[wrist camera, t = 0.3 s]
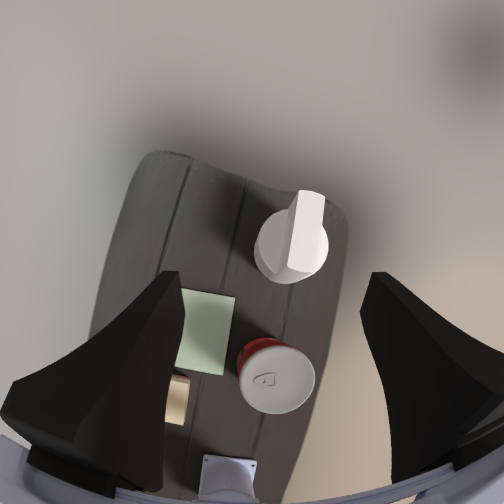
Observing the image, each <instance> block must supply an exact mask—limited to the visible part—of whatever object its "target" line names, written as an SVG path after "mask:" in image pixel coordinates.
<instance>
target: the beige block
mask: <svg viewBox="0 0 504 504" xmlns="http://www.w3.org/2000/svg"><path fill="white" fill-rule="evenodd" d="M189 386H190V380H187V379H182V378H177V377H172V378H171V382H170V386H169V391H168V397H167V405H166V414H165V422H170V423H174V424H179V425H183V424H184V421H185V417H186V408H187V401H188V393H189Z"/></svg>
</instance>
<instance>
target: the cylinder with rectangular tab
mask: <svg viewBox="0 0 504 504" xmlns="http://www.w3.org/2000/svg"><path fill="white" fill-rule="evenodd" d="M324 203H325V197H324V196H323V195H321V194H318V193H316V192H313V191H306V190H299V191H298V193H297V195H296V197H295V198H294V200H293V202H292V203H291V205H290V207H289V208H288V209H286V210H281V211H279V212H277V213H274V214H273V215H272V216H270V217H269V218H268V219H267V220H266V221H265V223H264V224H263V226H262V228H261V230H260V232H259V235H258V237H257V240H256V243H255V246H254V258H255V263H256V265H257V267H258V269H259V270H260V271H261V273H262V274H263V275H264V276H265V277H267V278H268V279H270V280H271V281H274V282H277V283H281V284H290V283H294V282H297V281H300V280H302V279H304V278H306V277H308V276H310V275H312V274H314V273H315V272H317V271H318V270H319V269H320V268H321V267H322V265H323V263H324V261H325V260H326V257H327V253H328V239H327V235H326V232H325V230H324V228H323V226H322V220H323V211H324Z"/></svg>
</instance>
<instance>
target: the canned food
mask: <svg viewBox="0 0 504 504" xmlns="http://www.w3.org/2000/svg"><path fill="white" fill-rule="evenodd" d="M236 367H237V374H238V381H239V387H240V390H241V393H242V395H243V397H244V398H245V400H246V401H247V402H248V403H249V404H250V405H251V406H252V407H254V408H255V409H257V410H259V411H261V412H264V413H269V414H281V413H286V412H289V411H292V410H294V409H296V408H297V407H299V406H300V405H302V404H303V403H304V402H305V401H306V400H307V399H308V397H309V396H310V394H311V392H312V390H313V387H314V384H315V372H314V369H313V366H312V364H311V362H310V361H309V359H308V358H307V357H306V356H305V355H304V354H303V353H301V352H300V351H298V350H297V349H295V348H293V347H291V346H289V345H287V344H285V343H283V342H281V341H279V340H277V339H274V338H259V339H255V340H253V341H251V342H249V343H248V344H247V345H245V346H244V347H243V348H242V350H241V351H240V353H239V355H238V357H237V362H236Z"/></svg>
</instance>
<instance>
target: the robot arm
mask: <svg viewBox="0 0 504 504" xmlns="http://www.w3.org/2000/svg"><path fill="white" fill-rule="evenodd" d="M185 314H186V312H185V306H184V301H183V295H182V289H181V283H180V277H179V271H162V272H161V273H160V274H159V275H158V276H157V277H156V278H155V279H154V280H153V281H152V282H151V283H150V284H149V285H148V286H147V287H146V289H145V290H144V291H143V292H142V293H141V294H140V295H139V296H138V297H137V298H136V299H135V300H134V301H133V302H132V303H131V304H130V305H129V306H128V307H127V308H126V309H125V310H124V311H123V312H121V313H120V314H119V315H118V316H117V317H116V318H115V319H114V320H113V321H112V322H111V323H110V324H108V325H107V326H106V327H105V328H104V329H102V330H101V331H100V332H99V333H97V334H96V335H95V336H94V337H92V338H91V339H90V340H88V341H87V342H86V343H84V344H83V345H81V346H80V347H78V348H77V349H75V350H74V351H72V352H71V353H69V354H68V355H66V356H65V357H63V358H61V359H60V360H58V361H56V362H54V363H52V364H51V365H49V366H47V367H45V368H43V369H41V370H39V371H37V372H35V373H33V374H30V375H28V376H26V377H24V378H21V379H19V380H16V381H14V382H13V384H12V386H11V388H10V390H9V392H8V394H7V397H6V399H5V401H4V403H3V405H2V408H1V410H0V416H1V418H2V420H3V421H4V422H5V423H6V424H7V425H8V426H10V427H11V428H12V429H13V430H14V431H16V432H17V433H18V434H19V435H20V436H22V437H23V438H24V439H26V440H27V441H28V442H30V443H31V444H32V446H31V449H30V450H28V449H27V448H25V447H23V446H22V445H20V444H18V443H16V442H14V441H13V440H11V439H9V438H7V437H6V436H4V435H0V502H2V503H3V504H259V499H258V498H255V496H254V491H253V485H252V483H253V479H254V474H255V470H256V465H257V461H256V460H251V459H240V458H231V457H223V456H215V455H209V454H205V455H204V457H203V464H202V472H201V479H200V487H199V494H198V496H199V501H197V500H192V501H191V502H189V501H181V500H174V499H168V498H162V497H157V496H152V495H147V494H142V493H138V492H135V490H138V491H142V492H145V491H149V492H154V493H155V492H157V491H159V490H160V489H162V488H163V474H162V461H163V437H164V425H165V414H166V405H167V397H168V391H169V386H170V382H171V378H172V374H173V370H174V366H175V362H176V359H177V355H178V351H179V347H180V343H181V340H182V335H183V328H184V321H185ZM360 316H361V320H362V325H363V329H364V333H365V336H366V339H367V342H368V345H369V347H370V350H371V353H372V356H373V358H374V361H375V364H376V367H377V369H378V372H379V375H380V378H381V381H382V385H383V388H384V393H385V398H386V403H387V409H388V416H389V424H390V434H391V447H392V470H391V480H392V485H388V486H385V487H381V488H377V489H374V490H370V491H366V492H361V493H357V494H352V495H348V496H343V497H337V498H332V499H325V500H318V501H311V502H302V503H291V504H390V503H393V502H396V501H399V500H402V499H405V498H407V497H411V496H413V495H416V494H418V493H419V494H418V495H417V496H416V498H415V500H414V501H413V502H412V503H410V504H504V353H502V352H500V351H497V350H495V349H493V348H491V347H489V346H487V345H485V344H483V343H482V342H480V341H478V340H476V339H475V338H473V337H471V336H470V335H468V334H466V333H465V332H463V331H462V330H460V329H459V328H457V327H456V326H454V325H453V324H451V323H450V322H449V321H447V320H446V319H445V318H443V317H442V316H440V315H439V314H438V313H437V312H435V311H434V310H433V309H432V308H430V307H429V306H428V305H427V304H425V303H424V302H423V301H422V300H421V299H419V298H418V297H417V296H416V295H414V294H413V293H412V292H411V291H410V290H408V289H407V288H406V287H405V286H404V285H403V284H401V283H400V282H399V281H398V280H396V279H395V278H394V277H392V276H391V275H389V274H388V273H386V272H372V275H371V279H370V281H369V285H368V288H367V291H366V294H365V297H364V300H363V303H362V306H361V309H360ZM205 459H208V460H205ZM253 464H254V466H252V465H253ZM201 491H202V492H201ZM261 504H266V503H261Z"/></svg>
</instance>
